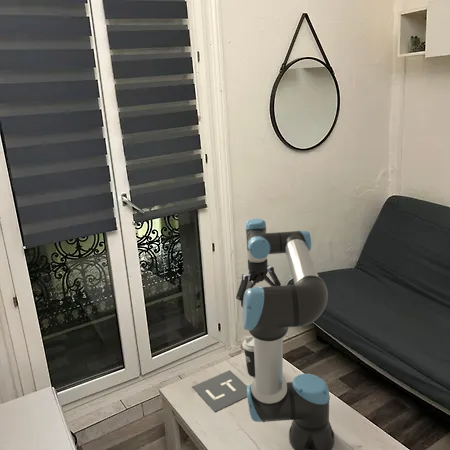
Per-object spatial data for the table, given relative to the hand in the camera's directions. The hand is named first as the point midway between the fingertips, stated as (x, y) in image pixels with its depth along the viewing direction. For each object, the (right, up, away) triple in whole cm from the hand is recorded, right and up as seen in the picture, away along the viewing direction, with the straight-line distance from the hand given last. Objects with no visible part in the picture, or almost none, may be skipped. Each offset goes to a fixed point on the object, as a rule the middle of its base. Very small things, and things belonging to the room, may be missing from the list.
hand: (259, 308), depth 187 cm
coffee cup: (-1, -28, +11) cm, 31 cm away
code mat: (-15, -33, +1) cm, 36 cm away
